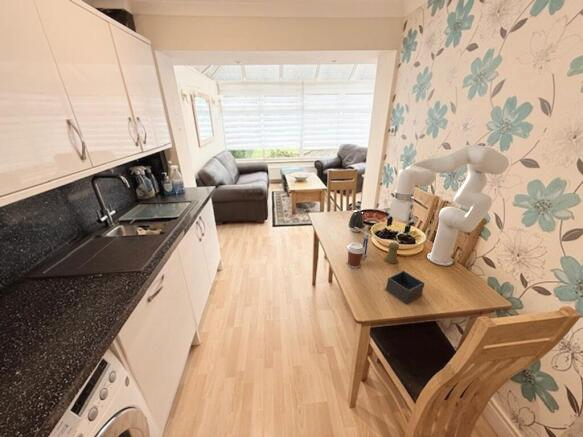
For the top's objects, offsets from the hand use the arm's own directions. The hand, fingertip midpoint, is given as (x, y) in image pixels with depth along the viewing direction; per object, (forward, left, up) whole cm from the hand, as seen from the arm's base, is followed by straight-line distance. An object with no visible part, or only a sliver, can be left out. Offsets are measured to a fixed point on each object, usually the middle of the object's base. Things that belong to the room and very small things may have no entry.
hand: (397, 229), depth 117 cm
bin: (+9, +15, -24) cm, 30 cm away
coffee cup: (+13, -14, -24) cm, 31 cm away
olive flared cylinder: (-8, -6, -24) cm, 26 cm away
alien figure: (+3, -18, -24) cm, 30 cm away
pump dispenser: (-18, -44, -24) cm, 53 cm away
